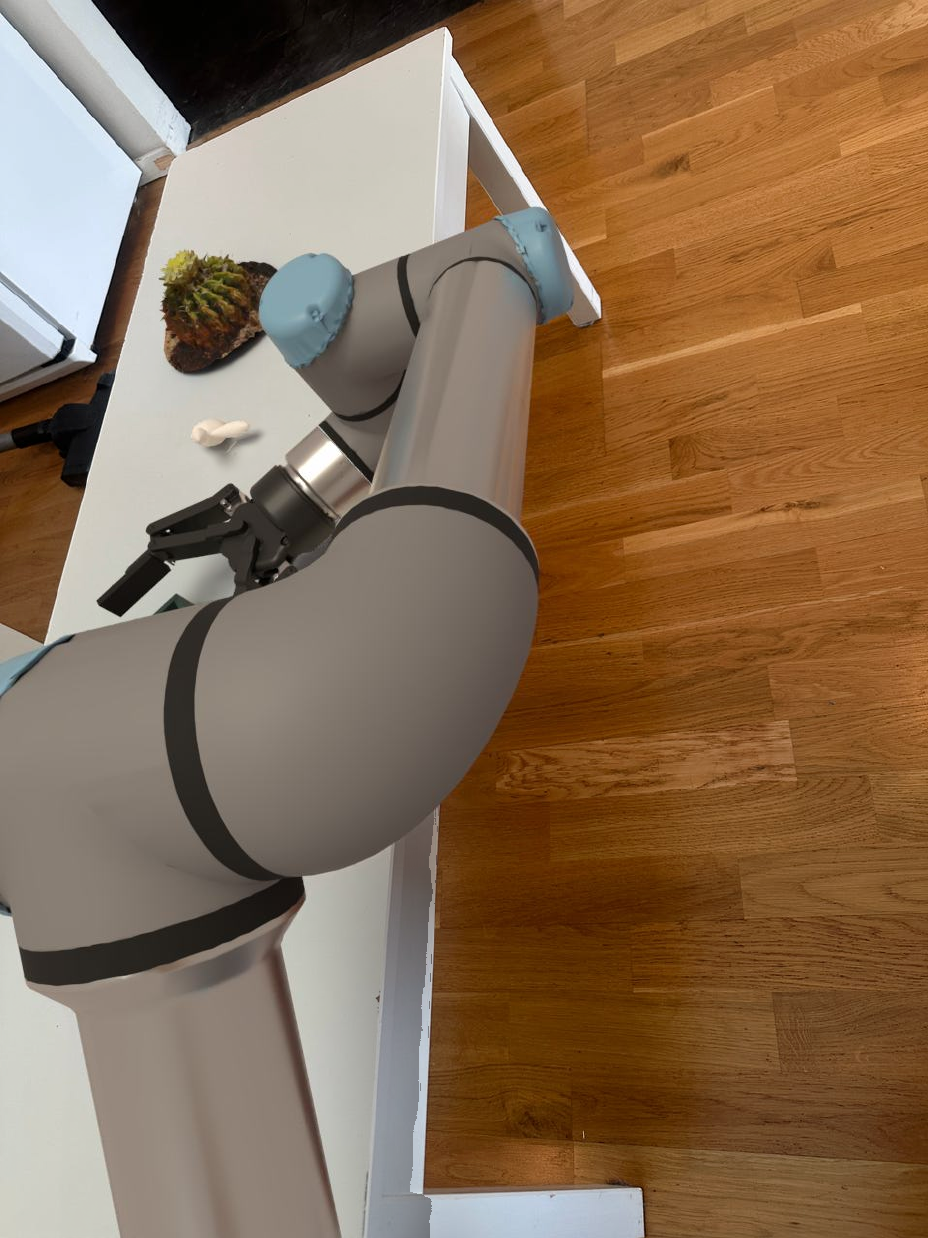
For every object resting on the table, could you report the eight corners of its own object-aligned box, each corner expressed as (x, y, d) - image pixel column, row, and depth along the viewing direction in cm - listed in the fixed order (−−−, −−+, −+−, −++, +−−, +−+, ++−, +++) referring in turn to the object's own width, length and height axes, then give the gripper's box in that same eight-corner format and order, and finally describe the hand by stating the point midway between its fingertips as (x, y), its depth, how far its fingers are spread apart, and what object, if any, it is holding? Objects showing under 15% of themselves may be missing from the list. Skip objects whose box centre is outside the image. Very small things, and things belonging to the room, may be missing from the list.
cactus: (265, 243, 105) (215, 178, 97) (302, 315, 97) (251, 250, 89) (157, 323, 108) (99, 267, 100) (183, 400, 99) (123, 345, 91)
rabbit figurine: (225, 413, 95) (246, 408, 88) (237, 447, 96) (259, 445, 90) (174, 428, 93) (192, 424, 86) (187, 462, 94) (205, 462, 87)
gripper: (404, 599, 70) (215, 771, 70) (274, 443, 83) (118, 588, 84) (359, 558, 63) (152, 747, 64) (227, 396, 77) (58, 554, 78)
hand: (132, 658), depth 74 cm, fingers open, 13 cm apart
